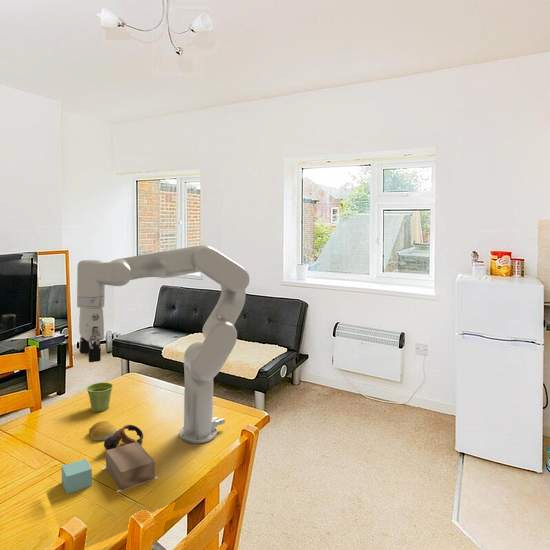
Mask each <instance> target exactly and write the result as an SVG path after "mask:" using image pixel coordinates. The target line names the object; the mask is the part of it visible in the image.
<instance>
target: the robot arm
mask: <svg viewBox="0 0 550 550" xmlns="http://www.w3.org/2000/svg"><path fill="white" fill-rule="evenodd" d="M76 269H77V271H76V272H77V273H76V275H77V277H76V281H77V282H76V283H77V284H76V307H77V308H78V309H79V319H78V321H79V323H78V325H79V326H78V330H79V336H80V337H79V339H80V340H79V341H80V342H79V346H80V347H79V353H80V354H81V355H82V354H88V363H96V362H100V361H101V359H102V358H101V357H102V356H101V349H102V342H101V341H103V340H104V339H105V322H104V321H105V320H104V310H103V308H104V307H105V292H106V291H105V290H106V289H105V288H106V286H110V287H111V286H112V287H123V286H125V285H126V286H127V284H128V283H130V281H133V280H138V279H144V278H145V279H146V278H161V279H168V278H175V277H179V276H185V275H190V274H195V273H202V274H203V275H204V276H206V277H207V278H209V279H211V280H212V281H213V282H215V283H217V284H219V285H220V288H221V289H220V290H221V291H220V296H219V299H218V301H217V303H216V304H215V306H214V308H213V310H212V311H211V313H210V314H209V316H208V318H207V319H206V321H205V323H204V325H203V327H202V335H203V337H204V340H203V342H194V343H191V344H190V345H188V347H187V348H186V349H185V351H184V354H183V368H184V371H183V372H184V391H183V392H184V398H183V401H184V402H183V427H181V429H180V430H179V431H178V436H179V439H180V440H182V441H183V442H186V443H190V444H202V443H203V444H204V443H207V442H211V441H212V440H213V439H215V438H216V436H217V433H218V432H217V427H218V426H221V425H225V422H226V420H225V418H224V417H222V418H219V419H218V417H217V416H216V417H213V415H214V414H213V412H214V411H213V408H214V406H213V405H214V378H215V377H216V376H217V375H218V374H219V373H220V372H221V370H222V367H223V366H224V364H225V363H226V362H227V360H228V358H229V356H230V355H231V353H232V350H234V347H235V345H236V343H237V339H238V330H237V329H236V326H235V324H236V322H237V320H238V318H239V316H240V315H241V313H242V311H243V308H244V305H245V303H246V296H247V295H246V294H247V293H246V289H247V287H248V286H249V284H250V280H251V279H250V274H249V273H248V271H247V269H245V268H244V267H243V266H241V265H240V264H238V263H237V262H235V261H233V260H232V259H231V258H229V257H227V256H226V255H224V254H223V253H222V252H221V251H219V250H217V249H216V248H214V247H213V246H210V245H203V244H201V245H194V246H188V247H181V248H177V249H169V250H164V251H158V252H157V251H156V252H153V253H147V254H146V253H145V254H141V255H135V256H130V257H129V256H127V257H122V258H116V259H113V260H111V261H110V262H109V261H108V262H107V261H106V262H103V261H101V260H95V259H94V260H93V259H85V260H83V259H82V260H80V261H78V263H77V268H76ZM214 437H215V438H214Z"/></svg>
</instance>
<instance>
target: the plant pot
mask: <svg viewBox="0 0 550 550" xmlns="http://www.w3.org/2000/svg"><path fill="white" fill-rule="evenodd" d="M113 388H114V384H113V383H112V382H96V383H93V384H89V385H88V386H87V387H86V388H85V389H86V391H87V394H88V397H89V403H90V408H91V411H92V412H94V413H95V412H96V413H99V412H101V411H102V412H105V411H107V410H108V409H109V407H110V402H111V394H112V391H113Z"/></svg>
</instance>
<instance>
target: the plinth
mask: <svg viewBox="0 0 550 550" xmlns="http://www.w3.org/2000/svg"><path fill="white" fill-rule="evenodd" d="M155 464H156V461H155V460H154V459H153V458H152V456H151V455H150V454H149V453H148V452H147V451H146V449H145V448H144V447H143V446H142V445H140V444H139V443H138V442H137V441H135V442H134V443H130V444H125V445H120V446H117V447H116V448H113V449H110V450H107V449H106V450H105V467H106V468H107V469H106V470H107V471H108V473H109V474H110V476H111V478H112V479H113V481H114V482H115V484H116V485H117V487H118V488H119V489H121V490H123V491H124V489H125V490H128V489H131V488H133V486H134V487H136V486H135V485H137V486H139V485H141V483H142V484H145V483H147V481H148V482H150V480H151V481H153V480H152V479H154V480H156V479H155V477H156V476H155V475H156V474H155V473H156V470H155V468H156V467H155V466H156V465H155ZM144 482H145V483H144ZM138 484H139V485H138ZM130 487H131V488H130ZM127 488H128V489H127Z"/></svg>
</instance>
